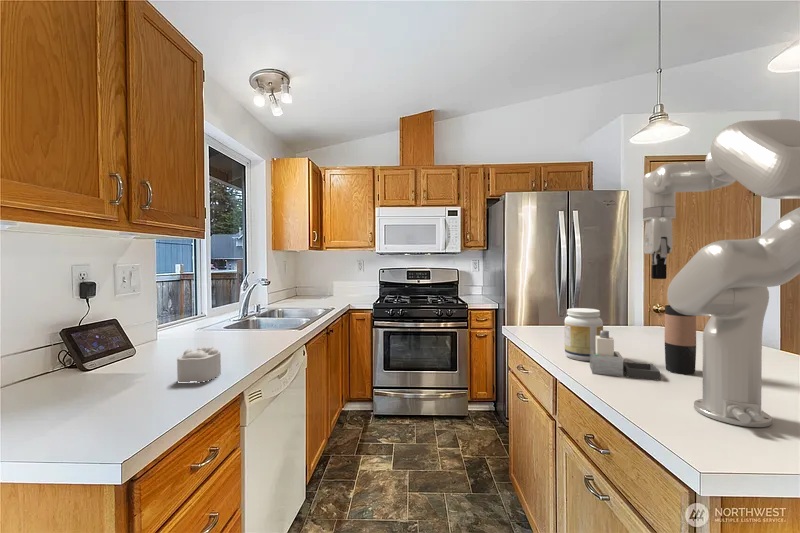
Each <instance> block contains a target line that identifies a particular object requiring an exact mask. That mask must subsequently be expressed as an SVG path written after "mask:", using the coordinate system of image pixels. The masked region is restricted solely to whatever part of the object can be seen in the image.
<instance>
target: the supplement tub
mask: <svg viewBox="0 0 800 533" xmlns="http://www.w3.org/2000/svg"><path fill="white" fill-rule="evenodd" d="M566 312H567V313H566V317H565V318H564V354H565V355H566V357H567V358H569V359H572V360H575V361H581V362H582V361H583V362H590V349H591V350H596V336H600V331H601V330H604V321H603V319H602V318H601V317H600V316H601V311H600V310H599V309H596V308H587V307H586V308H583V307H582V308H581V307H573V308H568V309H566Z"/></svg>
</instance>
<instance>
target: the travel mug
mask: <svg viewBox="0 0 800 533" xmlns="http://www.w3.org/2000/svg"><path fill="white" fill-rule="evenodd" d="M696 357H697V316H689V315H684V314H681V313H678V312H677V311H675V310H674V309H673V308H672V307H671V306H670V304H668V305H665V306H664V358H665V359H664V363H665V370H666V371H667V372H669V371H670V373H673V374H678V375H684V376H685V375H686V376H687V375H688V376H691V375H695V374H696V363H697V362H696V361H697V358H696Z"/></svg>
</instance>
